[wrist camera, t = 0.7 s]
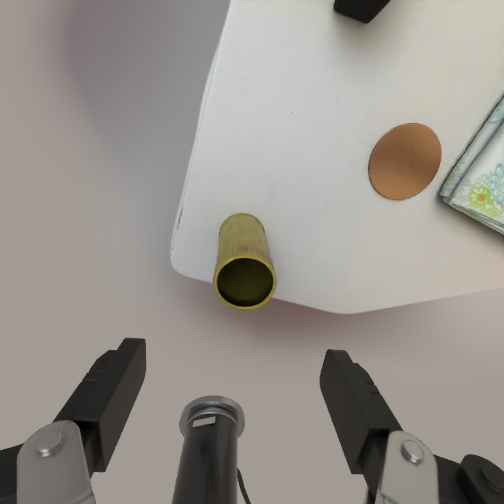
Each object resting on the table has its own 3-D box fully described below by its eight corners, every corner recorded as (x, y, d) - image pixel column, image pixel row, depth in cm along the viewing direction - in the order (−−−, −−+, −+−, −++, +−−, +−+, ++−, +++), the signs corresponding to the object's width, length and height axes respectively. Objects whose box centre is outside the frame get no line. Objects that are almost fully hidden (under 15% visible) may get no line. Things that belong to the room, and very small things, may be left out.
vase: (216, 214, 33) (202, 252, 19) (263, 210, 33) (281, 246, 20) (222, 257, 35) (212, 319, 22) (265, 254, 35) (283, 312, 22)
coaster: (431, 196, 34) (433, 197, 33) (364, 201, 33) (366, 201, 33) (445, 121, 30) (448, 121, 30) (372, 125, 30) (374, 125, 30)
